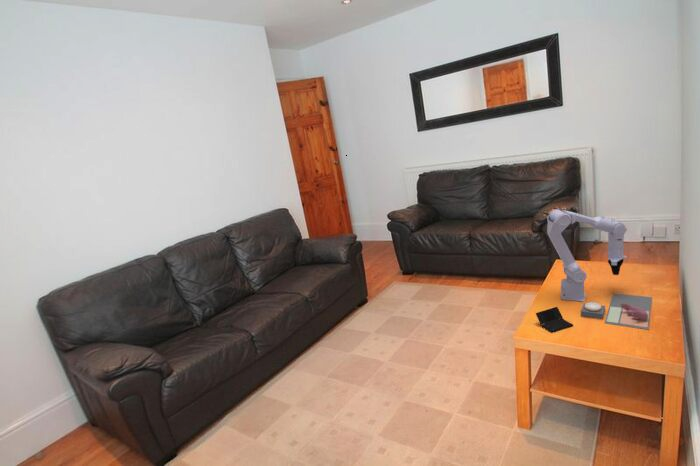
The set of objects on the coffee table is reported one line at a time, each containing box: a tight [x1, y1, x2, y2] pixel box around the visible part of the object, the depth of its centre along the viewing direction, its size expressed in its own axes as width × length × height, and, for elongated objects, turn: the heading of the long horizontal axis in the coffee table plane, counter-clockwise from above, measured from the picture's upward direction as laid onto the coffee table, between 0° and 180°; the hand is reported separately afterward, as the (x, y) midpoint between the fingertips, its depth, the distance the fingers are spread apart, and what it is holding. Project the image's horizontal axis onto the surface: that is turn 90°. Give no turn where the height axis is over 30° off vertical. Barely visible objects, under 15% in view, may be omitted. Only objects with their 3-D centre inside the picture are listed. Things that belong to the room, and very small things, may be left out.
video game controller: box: [621, 303, 648, 320], centre depth 158 cm, size 10×5×7 cm
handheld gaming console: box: [535, 306, 574, 334], centre depth 163 cm, size 12×7×10 cm
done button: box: [585, 301, 601, 311], centre depth 166 cm, size 6×6×4 cm
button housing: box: [580, 302, 606, 320], centre depth 166 cm, size 8×8×2 cm
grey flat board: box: [604, 292, 653, 331], centre depth 164 cm, size 14×30×1 cm, turn 141°
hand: (615, 274), depth 178 cm, fingers closed
